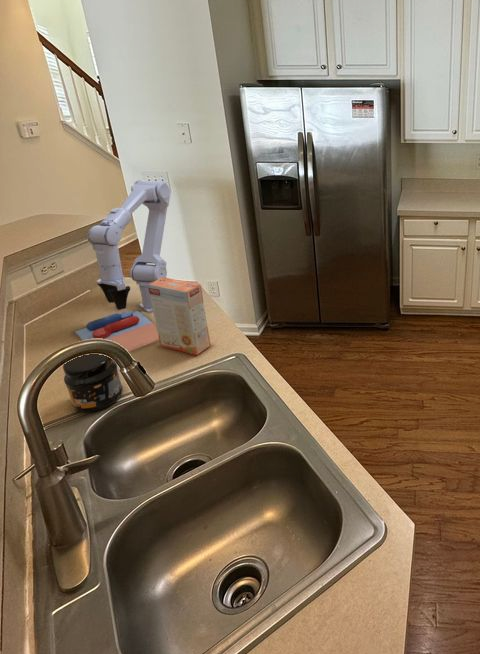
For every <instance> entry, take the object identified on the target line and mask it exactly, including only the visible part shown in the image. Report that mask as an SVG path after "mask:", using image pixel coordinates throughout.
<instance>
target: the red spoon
mask: <svg viewBox="0 0 480 654" xmlns="http://www.w3.org/2000/svg"><path fill="white" fill-rule="evenodd" d="M138 322H139V318H138V317H137V316H132V317H129V318H126V319H123V320H120V321H117V322H115V323H112V324H109V325H107V326H105V327H104V328H99V329H97V330H95V331H94V332H93V333H92V334H93V338H103V339H105V338H107V337H109V336H110V335H111V333H113V332H116V331H118V330H121V329H124V328H127V327H130V326H132V325H135V324H137V323H138Z"/></svg>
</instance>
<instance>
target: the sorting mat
mask: <svg viewBox="0 0 480 654" xmlns="http://www.w3.org/2000/svg"><path fill="white" fill-rule="evenodd" d="M131 312H132V313H133V316H137V317H138V318H139V322H138V323H137V324H135V325H132V326H130V327H127V328H124V329H121V330H118V331H116V332H113V333H111V335H110V336H109V337H107V338H105V339H109V340H112V341H115V342H117V343H119V344H120V345H122V346H123V347H124V348H126V349H127V350H128V352H127V353H130V352H132V351H134V350H137V349H139V348H142V347H144V346H146V345H149V344H152V343H153V342H154V343H155V342H158V341H159V336H158V332H157V327H156V323H154V322H153V321H151V320H150V319H148V317H146V316H144V315H143V314H142V313H141V312H140V311H138V310H133V311H131ZM104 327H105V326H104ZM104 327H101V328H104ZM98 329H99V328H98ZM95 330H97V329H95ZM95 330H88V329H87V327H84V328H81V329H78V330H75V331H74V332H75V333H76V334H77V336H78V337H79V339H81V340H82V341H83V340H85V339H91V338H93V334H92V333H93V332H94V331H95Z"/></svg>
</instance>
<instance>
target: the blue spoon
mask: <svg viewBox="0 0 480 654" xmlns="http://www.w3.org/2000/svg"><path fill="white" fill-rule="evenodd" d="M132 312H133V311H131V310H124V311H121V312H115V313H112V314H110V315H107V316H104V317H100V318H97V319H95V320H92V321H89V322H87V324H86V327H85V328H87V329H88V330H95V329H98V328H101V327H104V326H107V325H109V324H112V323H115V322H117V321H120V320H123V319H126V318H129V317H132V316H133V313H132Z"/></svg>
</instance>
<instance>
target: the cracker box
mask: <svg viewBox="0 0 480 654" xmlns="http://www.w3.org/2000/svg"><path fill="white" fill-rule="evenodd" d="M148 289H149V293H150V298H151V303H152V308H153V311H152V312H153V317H154V320H155V325H156V327H157V332H158V336H159V340H158V341H159V345H160V347H163V348H165V349H170V350H174V351H179V352H182V353H186V354H190V355H195V356H199V355H200V354H201V353H203V352H204V351H206V350H207V349H208V348H210V347H211V340H210V334H209V333H210V332H209V327H208V320H207V315H206V308H205V303H204V295H203V290H202V284H201V283H196V282H190V281H185V280H180V279H175V278H169V277H166V278H165V277H163V278H160V279H158V280H156V281H154V282H152V283H150V284H148Z"/></svg>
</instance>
